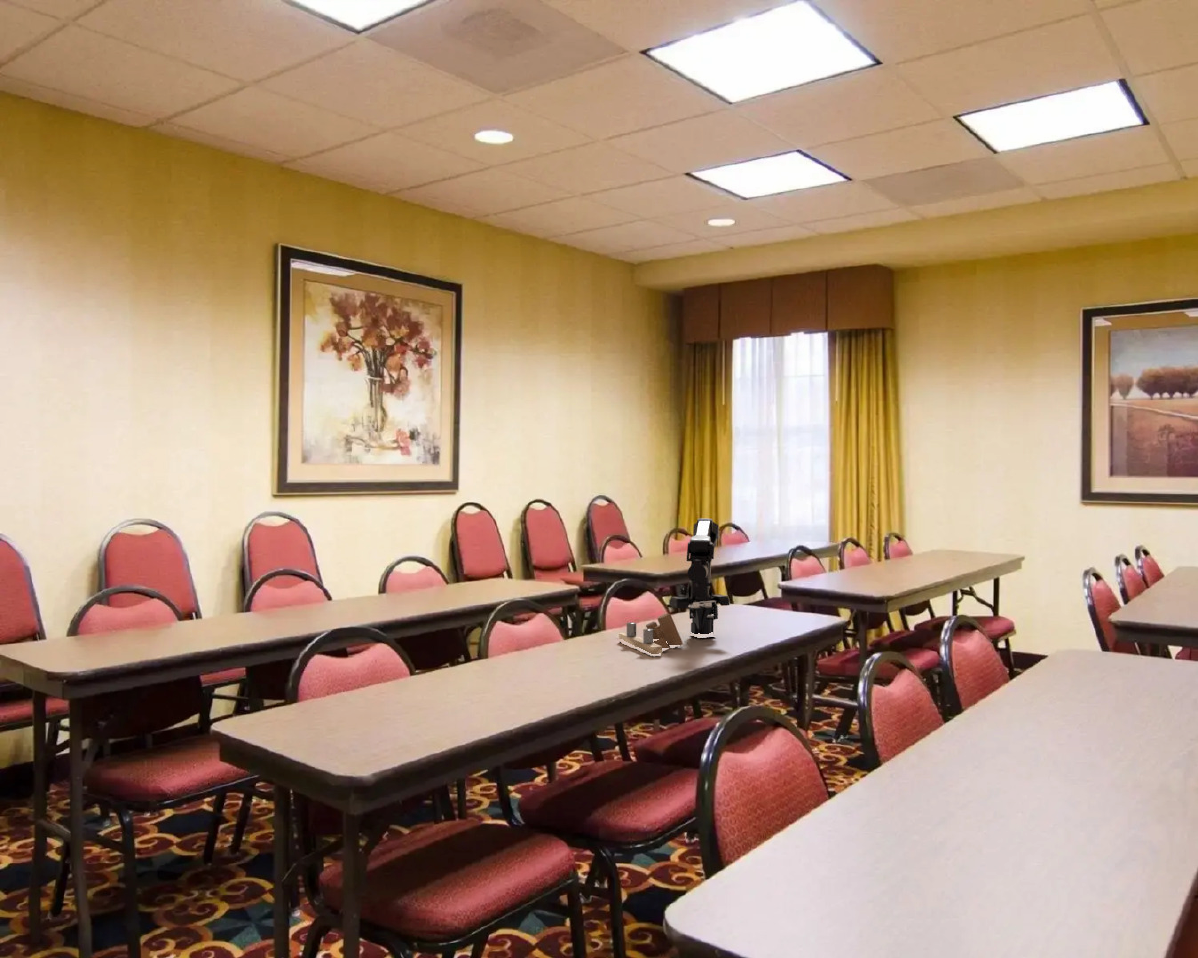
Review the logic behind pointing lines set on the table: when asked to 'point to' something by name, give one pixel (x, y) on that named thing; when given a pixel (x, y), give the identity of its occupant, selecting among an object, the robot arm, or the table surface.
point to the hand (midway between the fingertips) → (699, 628)
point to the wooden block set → (665, 631)
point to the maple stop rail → (641, 644)
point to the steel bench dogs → (646, 633)
